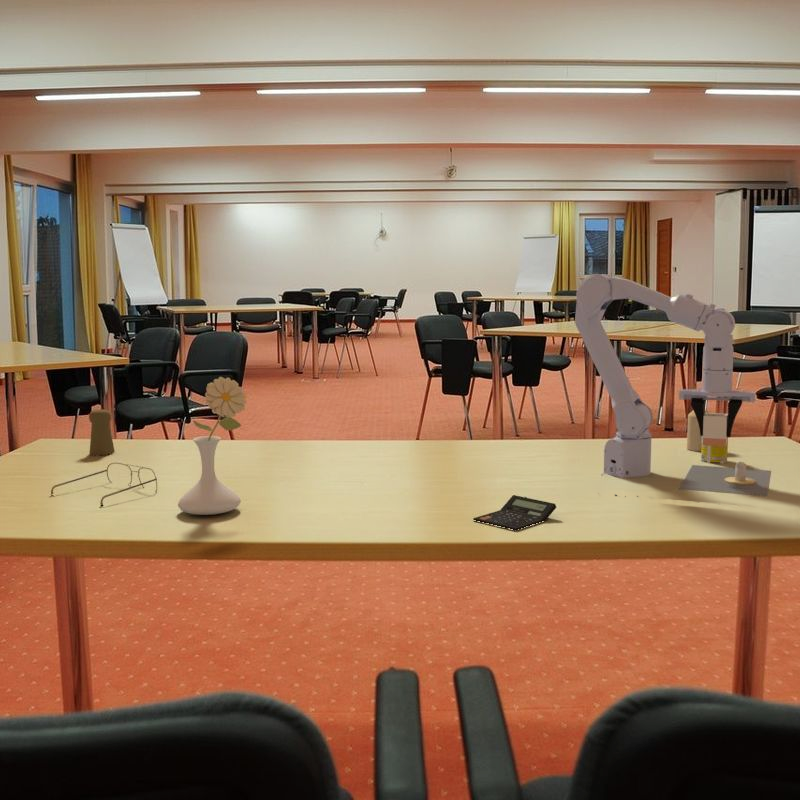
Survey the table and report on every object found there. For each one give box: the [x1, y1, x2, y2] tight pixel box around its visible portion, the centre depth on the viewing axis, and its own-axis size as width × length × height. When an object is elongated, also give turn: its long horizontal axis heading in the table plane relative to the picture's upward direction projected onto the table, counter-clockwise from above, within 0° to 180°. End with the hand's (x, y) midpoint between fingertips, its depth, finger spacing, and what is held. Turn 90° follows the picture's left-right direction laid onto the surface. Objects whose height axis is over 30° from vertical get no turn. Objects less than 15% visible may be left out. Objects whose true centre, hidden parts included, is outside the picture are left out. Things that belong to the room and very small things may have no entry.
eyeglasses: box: [50, 462, 158, 506], centre depth 177 cm, size 16×15×5 cm
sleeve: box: [703, 412, 729, 446], centre depth 178 cm, size 4×4×6 cm
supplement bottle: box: [700, 436, 729, 464], centre depth 197 cm, size 6×6×10 cm
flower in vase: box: [177, 376, 247, 516], centre depth 160 cm, size 13×11×25 cm
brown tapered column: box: [88, 408, 116, 456], centre depth 218 cm, size 6×6×11 cm
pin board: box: [678, 461, 772, 497], centre depth 179 cm, size 24×16×5 cm, turn 156°
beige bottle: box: [686, 409, 710, 452], centre depth 215 cm, size 6×6×10 cm
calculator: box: [472, 494, 557, 530], centre depth 154 cm, size 9×12×3 cm
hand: (715, 435), depth 179 cm, fingers closed on sleeve, 4 cm apart
